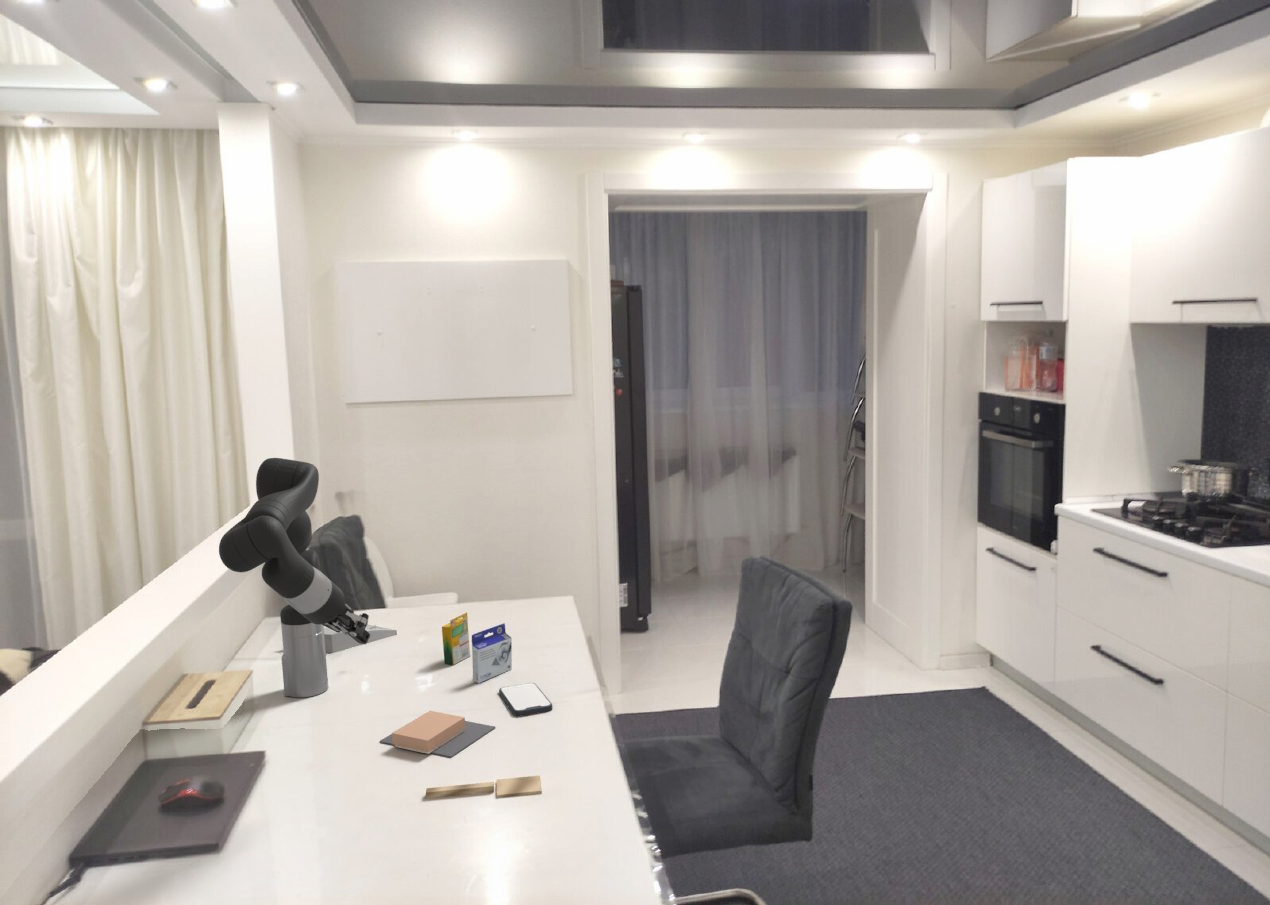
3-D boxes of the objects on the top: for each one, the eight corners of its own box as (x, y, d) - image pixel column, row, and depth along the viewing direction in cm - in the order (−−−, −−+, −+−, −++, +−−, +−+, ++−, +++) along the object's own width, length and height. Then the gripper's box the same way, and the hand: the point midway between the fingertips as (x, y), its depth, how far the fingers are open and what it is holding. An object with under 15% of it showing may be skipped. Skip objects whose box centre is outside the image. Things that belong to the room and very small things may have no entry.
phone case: (497, 694, 222) (514, 719, 207) (497, 687, 222) (514, 711, 207) (535, 688, 225) (554, 712, 210) (534, 681, 225) (554, 705, 210)
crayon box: (460, 654, 248) (458, 610, 246) (470, 656, 246) (468, 612, 245) (443, 664, 241) (440, 619, 239) (453, 665, 240) (450, 620, 238)
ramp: (392, 627, 273) (391, 608, 272) (402, 644, 259) (401, 624, 258) (287, 643, 262) (286, 623, 262) (291, 661, 248) (290, 640, 247)
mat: (379, 742, 197) (379, 740, 197) (426, 714, 210) (426, 713, 210) (451, 757, 189) (451, 756, 189) (495, 728, 202) (495, 726, 202)
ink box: (479, 684, 227) (476, 637, 225) (472, 682, 228) (469, 635, 227) (513, 669, 236) (511, 623, 234) (506, 667, 237) (504, 622, 236)
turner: (425, 804, 171) (424, 798, 171) (427, 788, 177) (427, 782, 176) (541, 793, 174) (541, 786, 173) (540, 777, 179) (539, 771, 179)
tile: (391, 733, 193) (429, 710, 204) (392, 747, 194) (430, 724, 204) (427, 740, 189) (464, 717, 200) (428, 755, 190) (465, 731, 200)
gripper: (350, 579, 169) (401, 625, 181) (294, 571, 175) (347, 617, 187) (330, 617, 165) (384, 662, 177) (274, 608, 171) (329, 653, 183)
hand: (365, 639), depth 182 cm, fingers closed
